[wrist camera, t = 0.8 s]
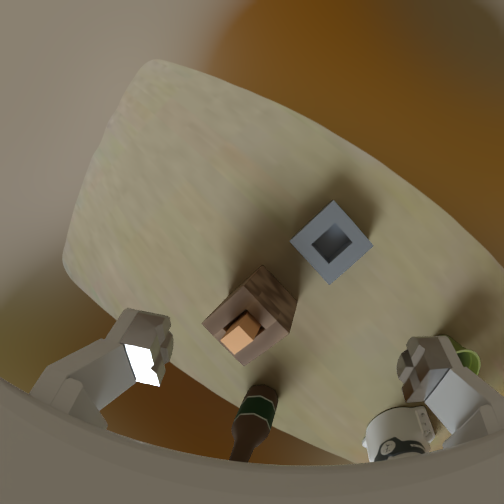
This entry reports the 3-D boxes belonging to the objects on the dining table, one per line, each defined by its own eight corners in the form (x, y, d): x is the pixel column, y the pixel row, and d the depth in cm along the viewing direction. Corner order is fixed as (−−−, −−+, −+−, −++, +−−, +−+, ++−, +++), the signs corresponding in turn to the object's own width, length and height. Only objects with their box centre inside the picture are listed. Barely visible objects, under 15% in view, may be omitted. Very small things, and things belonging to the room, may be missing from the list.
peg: (264, 318, 47) (253, 340, 39) (247, 331, 48) (234, 354, 41) (252, 305, 47) (238, 325, 39) (235, 319, 48) (220, 340, 41)
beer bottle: (248, 380, 62) (213, 454, 39) (281, 387, 60) (258, 466, 37) (245, 403, 63) (212, 476, 40) (276, 410, 62) (253, 486, 39)
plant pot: (406, 344, 52) (420, 373, 41) (452, 314, 48) (474, 337, 37) (423, 380, 52) (436, 410, 41) (465, 352, 48) (484, 378, 38)
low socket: (367, 240, 50) (373, 245, 45) (328, 275, 53) (329, 285, 47) (332, 200, 51) (333, 200, 45) (292, 236, 54) (289, 241, 48)
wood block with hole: (297, 302, 56) (289, 333, 42) (261, 330, 59) (243, 366, 45) (262, 264, 56) (243, 285, 42) (228, 296, 59) (201, 323, 45)
